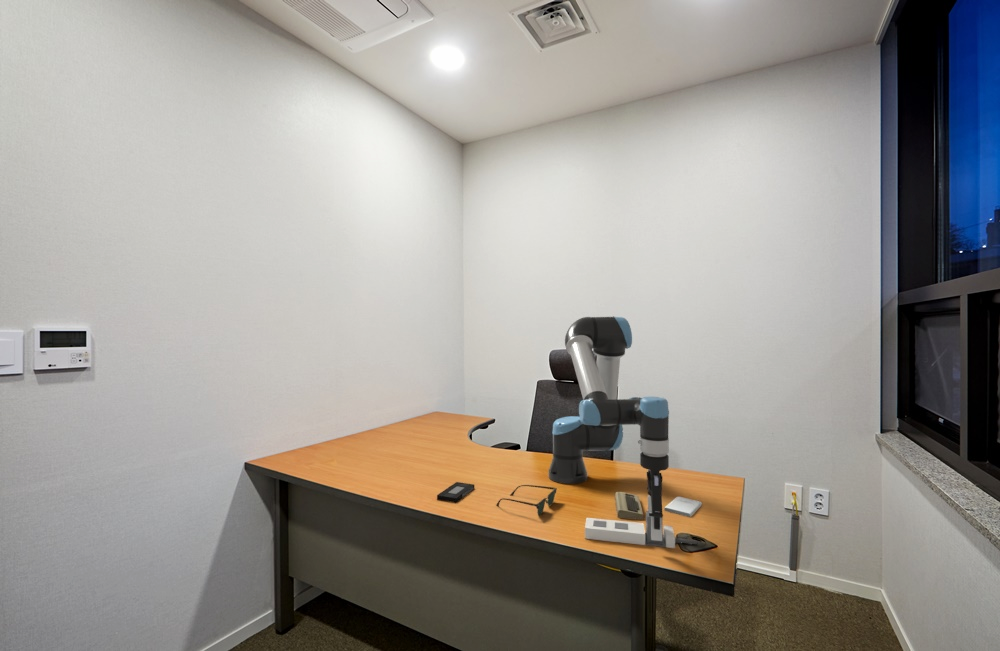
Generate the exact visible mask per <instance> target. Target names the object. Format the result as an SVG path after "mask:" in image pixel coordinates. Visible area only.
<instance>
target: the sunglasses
mask: <svg viewBox="0 0 1000 651" xmlns="http://www.w3.org/2000/svg"><path fill="white" fill-rule="evenodd" d="M521 487H531V488H539V489H540V488H541V489H547V490H552V491H551V492H549V494H548V495H547V496H546V497H544V498H543V499H541V501H539V502H537V503H531V502H527V501H521V500H518V499H517V500H516V499H511V498H504V497H503V498H500V499H498V501H497V503H496V504H495V505H496V506H497V507H499V506H500V503H501V501H503V500H505V501H511V502H514V503H520V504H524V505H528V506H532V507H536V509H537V513H536V514H537V516H540V515H541V514H542V513H544V508H545V505H546V504H547V506H548V507H550V506H551V505H553V503H554V500H555V496H556V493H557V488H558V487H554V486H553V487H552V486H545V485H544V486H543V485H532V484H531V485H530V484H523V485H522V484H521V485H518V486H517V487H516V488H515V489H513V491H512V492H511V494H509V496H514V494H515V493H516V491H517V490H518V489H519V488H521ZM545 503H546V504H545Z"/></svg>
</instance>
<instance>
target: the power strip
mask: <svg viewBox="0 0 1000 651" xmlns="http://www.w3.org/2000/svg"><path fill="white" fill-rule="evenodd" d="M584 525H585V526H584V539H587V540H597V541H604V542H615V543H622V544H633V545H641V546H651V547H658V548H659V547H661V548H669V549H676V544H682V543H692V544H697V545H698V540H696V539H688V538H687V539H686V538H678V537H676V536H675V533H674V528H673V526H672V525H666V524H663V543H655V542H647V537H646V528H645V523H643V522H634V521H625V520H624V521H622V520H615V519H614V520H613V519H603V518H595V517H586V519H585V524H584ZM681 542H682V543H681ZM692 544H691V545H692Z"/></svg>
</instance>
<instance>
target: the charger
mask: <svg viewBox="0 0 1000 651" xmlns="http://www.w3.org/2000/svg"><path fill="white" fill-rule="evenodd" d="M649 513H652V511H648V510H646V512H645V533H646V537H647V542H655V543H663V535H664V524H663V520H664V519H663V518H664V517H663V518H662V541H656V540H651V516H649Z"/></svg>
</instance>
